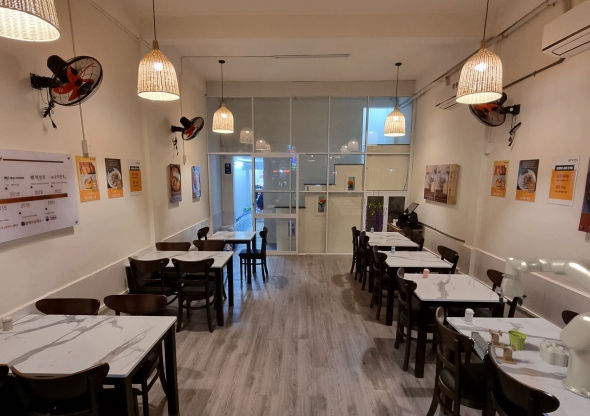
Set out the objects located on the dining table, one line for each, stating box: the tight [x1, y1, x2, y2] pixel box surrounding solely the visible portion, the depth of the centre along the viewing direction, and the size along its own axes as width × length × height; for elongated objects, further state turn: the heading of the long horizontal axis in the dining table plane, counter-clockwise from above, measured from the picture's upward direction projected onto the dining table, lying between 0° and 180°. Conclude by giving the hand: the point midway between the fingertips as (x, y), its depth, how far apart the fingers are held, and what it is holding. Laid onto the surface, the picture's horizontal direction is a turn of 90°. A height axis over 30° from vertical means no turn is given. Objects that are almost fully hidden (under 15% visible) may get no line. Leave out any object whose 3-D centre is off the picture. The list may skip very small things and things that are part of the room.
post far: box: [486, 328, 503, 349], centre depth 173 cm, size 5×6×9 cm
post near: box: [498, 342, 517, 366], centre depth 158 cm, size 5×6×9 cm
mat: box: [473, 342, 502, 364], centre depth 168 cm, size 24×9×1 cm, turn 166°
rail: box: [470, 330, 489, 355], centre depth 171 cm, size 22×4×4 cm, turn 166°
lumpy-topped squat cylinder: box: [539, 341, 568, 368], centre depth 160 cm, size 10×13×9 cm
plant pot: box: [507, 329, 528, 351], centre depth 171 cm, size 9×9×9 cm
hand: (510, 304), depth 167 cm, fingers open, 9 cm apart
